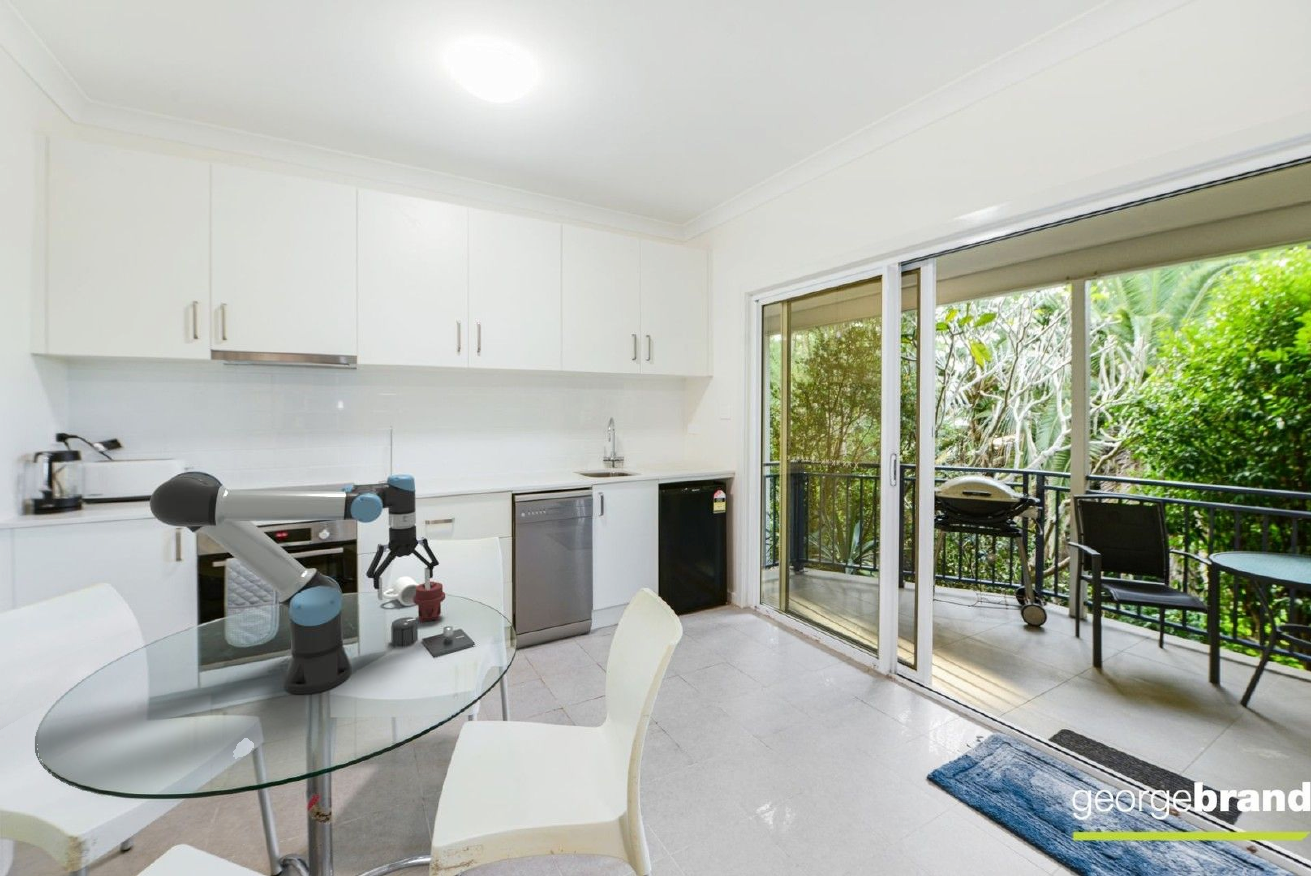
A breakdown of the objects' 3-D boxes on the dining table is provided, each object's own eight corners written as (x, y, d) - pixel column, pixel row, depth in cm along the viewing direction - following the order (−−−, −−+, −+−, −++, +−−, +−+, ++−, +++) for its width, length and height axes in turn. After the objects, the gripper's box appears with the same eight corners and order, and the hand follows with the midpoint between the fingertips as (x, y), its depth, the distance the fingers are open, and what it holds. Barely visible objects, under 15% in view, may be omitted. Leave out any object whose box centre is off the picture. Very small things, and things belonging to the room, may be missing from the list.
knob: (395, 648, 162) (394, 628, 162) (389, 639, 168) (389, 620, 167) (419, 641, 167) (419, 622, 166) (413, 633, 172) (413, 614, 172)
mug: (414, 594, 204) (414, 574, 203) (423, 603, 196) (422, 582, 196) (380, 602, 196) (379, 581, 196) (387, 611, 189) (386, 589, 188)
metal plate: (434, 657, 157) (433, 640, 157) (422, 641, 167) (421, 626, 166) (474, 645, 165) (474, 629, 164) (461, 631, 174) (460, 616, 174)
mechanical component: (423, 611, 189) (450, 613, 188) (407, 623, 179) (436, 625, 178) (422, 577, 188) (450, 579, 187) (406, 587, 178) (435, 589, 177)
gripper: (359, 535, 153) (361, 607, 155) (448, 522, 169) (449, 588, 171) (353, 529, 159) (356, 599, 161) (440, 517, 175) (442, 581, 177)
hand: (404, 593), depth 166 cm, fingers open, 13 cm apart
